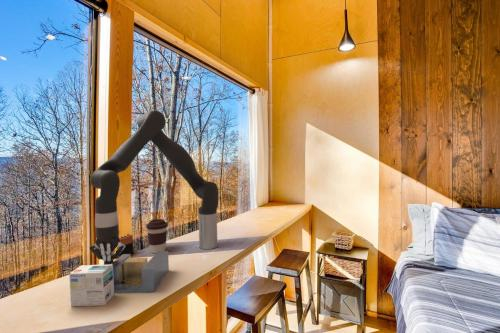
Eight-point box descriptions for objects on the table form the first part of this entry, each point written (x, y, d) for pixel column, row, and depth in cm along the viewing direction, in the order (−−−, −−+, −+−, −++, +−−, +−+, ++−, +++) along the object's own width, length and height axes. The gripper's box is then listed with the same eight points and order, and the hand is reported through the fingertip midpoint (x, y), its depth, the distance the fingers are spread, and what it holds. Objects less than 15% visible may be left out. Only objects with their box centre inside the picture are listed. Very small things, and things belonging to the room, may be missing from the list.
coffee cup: (161, 255, 124) (160, 223, 123) (142, 254, 126) (141, 222, 125) (172, 247, 134) (171, 218, 133) (154, 246, 136) (153, 217, 135)
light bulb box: (115, 294, 89) (113, 263, 89) (104, 306, 83) (103, 272, 82) (82, 295, 89) (81, 264, 89) (69, 307, 82) (68, 273, 82)
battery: (115, 257, 123) (114, 235, 122) (127, 252, 129) (127, 232, 128) (121, 258, 121) (120, 237, 120) (133, 253, 127) (133, 233, 126)
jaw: (116, 273, 105) (115, 254, 104) (132, 273, 105) (132, 254, 105) (99, 289, 93) (98, 267, 93) (118, 288, 93) (117, 266, 93)
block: (129, 278, 101) (128, 258, 101) (148, 278, 101) (147, 257, 101) (124, 283, 97) (123, 262, 97) (144, 283, 97) (143, 261, 97)
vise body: (104, 271, 107) (103, 252, 107) (168, 270, 107) (168, 251, 107) (77, 293, 90) (76, 270, 90) (153, 292, 91) (153, 269, 90)
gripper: (129, 221, 102) (131, 265, 103) (95, 221, 102) (97, 265, 103) (119, 226, 94) (121, 274, 95) (82, 227, 94) (85, 274, 95)
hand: (109, 269), depth 99 cm, fingers closed
